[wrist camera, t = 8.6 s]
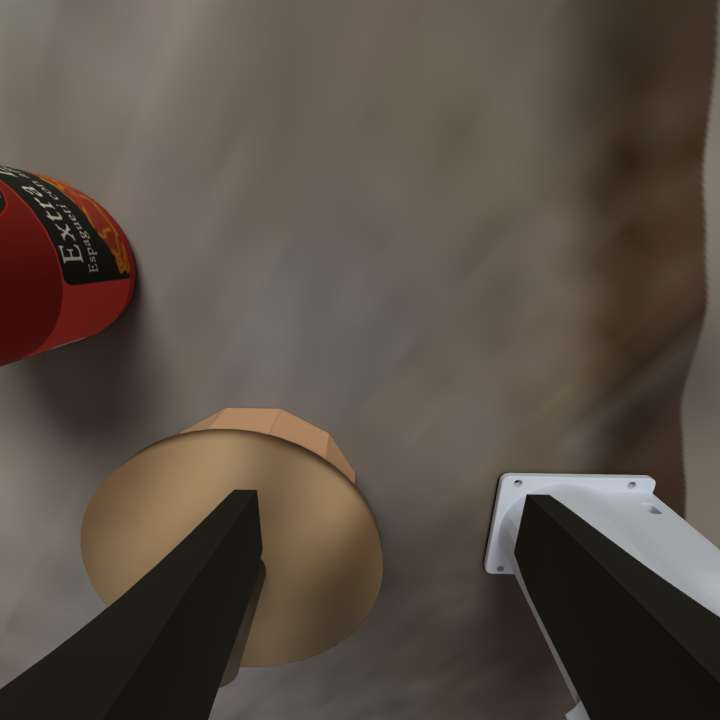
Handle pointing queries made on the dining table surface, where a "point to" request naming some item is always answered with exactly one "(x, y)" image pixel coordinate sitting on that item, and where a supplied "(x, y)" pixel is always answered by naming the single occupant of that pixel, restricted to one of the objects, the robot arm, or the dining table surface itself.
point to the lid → (278, 529)
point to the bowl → (279, 431)
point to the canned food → (57, 265)
